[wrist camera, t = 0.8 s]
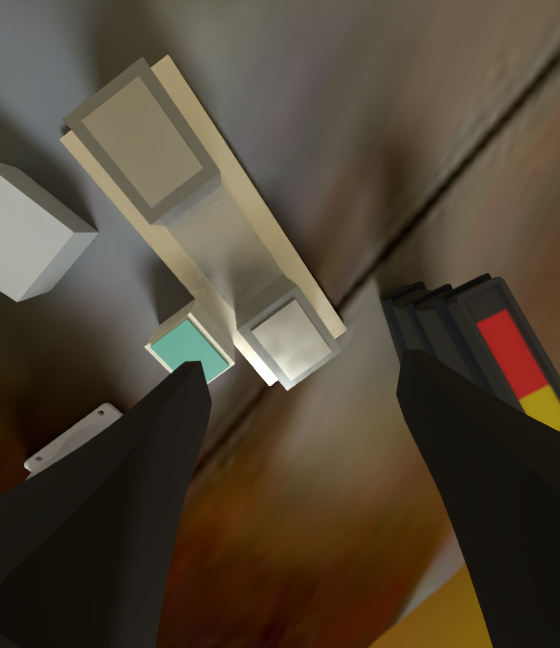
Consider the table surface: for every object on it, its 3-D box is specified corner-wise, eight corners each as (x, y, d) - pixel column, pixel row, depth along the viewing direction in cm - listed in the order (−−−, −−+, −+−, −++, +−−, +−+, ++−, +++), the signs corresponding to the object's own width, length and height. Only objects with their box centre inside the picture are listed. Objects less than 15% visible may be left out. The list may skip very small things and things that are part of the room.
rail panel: (268, 381, 28) (281, 425, 22) (65, 142, 20) (-10, 101, 13) (343, 327, 28) (378, 355, 21) (170, 61, 19) (143, -22, 13)
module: (198, 365, 26) (192, 397, 21) (159, 324, 25) (142, 348, 20) (233, 340, 26) (235, 365, 21) (196, 297, 24) (189, 313, 19)
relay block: (52, 290, 22) (17, 302, 19) (-31, 234, 20) (-88, 234, 17) (100, 232, 22) (74, 232, 18) (20, 168, 20) (-28, 154, 16)
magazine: (419, 417, 31) (548, 479, 16) (362, 307, 32) (431, 268, 17) (450, 401, 31) (607, 448, 16) (392, 292, 32) (487, 240, 17)
